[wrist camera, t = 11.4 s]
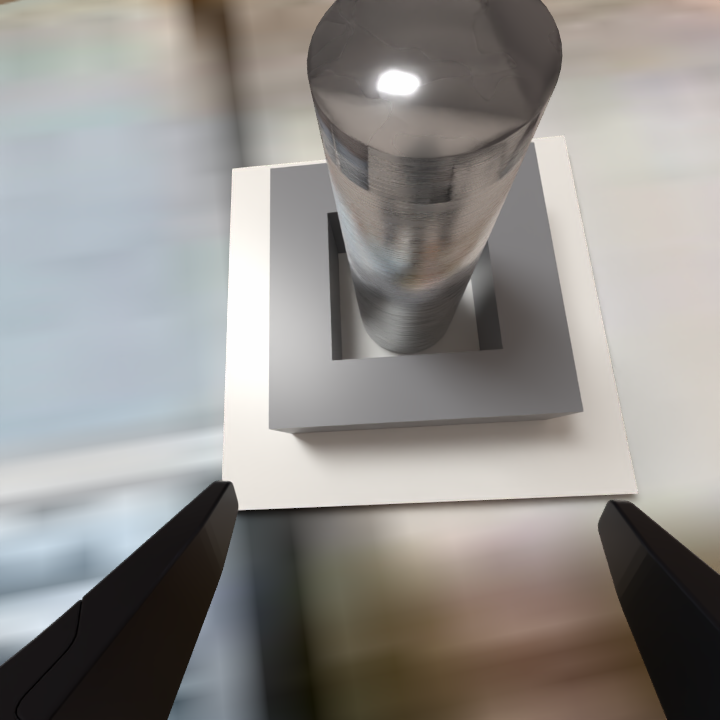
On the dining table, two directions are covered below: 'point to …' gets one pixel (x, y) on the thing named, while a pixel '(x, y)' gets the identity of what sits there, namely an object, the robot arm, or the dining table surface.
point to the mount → (416, 359)
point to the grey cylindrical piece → (425, 143)
